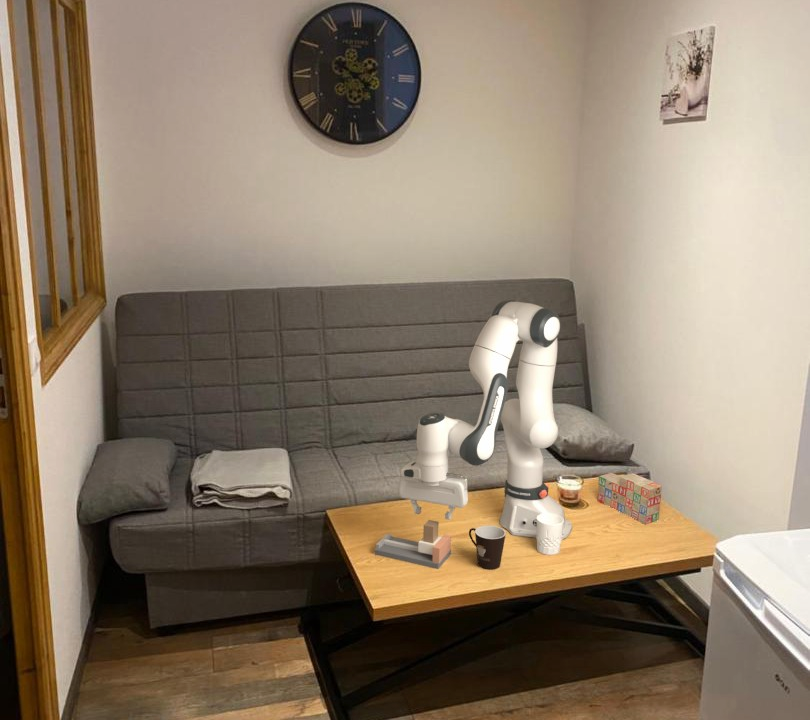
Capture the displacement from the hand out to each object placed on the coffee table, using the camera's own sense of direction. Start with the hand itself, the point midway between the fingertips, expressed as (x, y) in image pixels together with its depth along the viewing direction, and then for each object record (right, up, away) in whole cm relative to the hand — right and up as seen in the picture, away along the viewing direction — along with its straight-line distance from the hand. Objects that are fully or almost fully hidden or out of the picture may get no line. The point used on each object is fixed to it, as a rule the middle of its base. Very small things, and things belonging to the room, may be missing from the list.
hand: (433, 516), depth 232 cm
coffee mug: (+15, -14, +1) cm, 21 cm away
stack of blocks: (+65, -6, +37) cm, 75 cm away
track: (-6, -12, +5) cm, 14 cm away
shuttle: (-1, -10, +2) cm, 10 cm away
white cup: (+34, -12, +9) cm, 37 cm away
